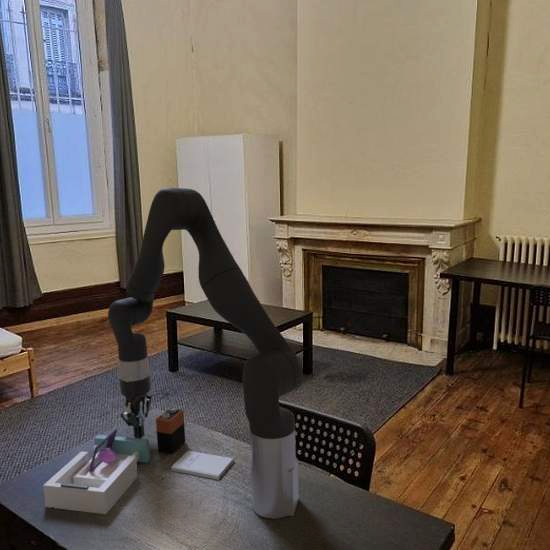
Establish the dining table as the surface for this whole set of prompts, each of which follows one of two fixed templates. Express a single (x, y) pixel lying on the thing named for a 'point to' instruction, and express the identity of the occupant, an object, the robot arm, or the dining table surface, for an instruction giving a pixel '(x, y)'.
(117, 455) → the drawer
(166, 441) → the battery
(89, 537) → the dining table surface
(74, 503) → the open box
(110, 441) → the purple toy kit
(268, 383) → the robot arm
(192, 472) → the external hard drive
